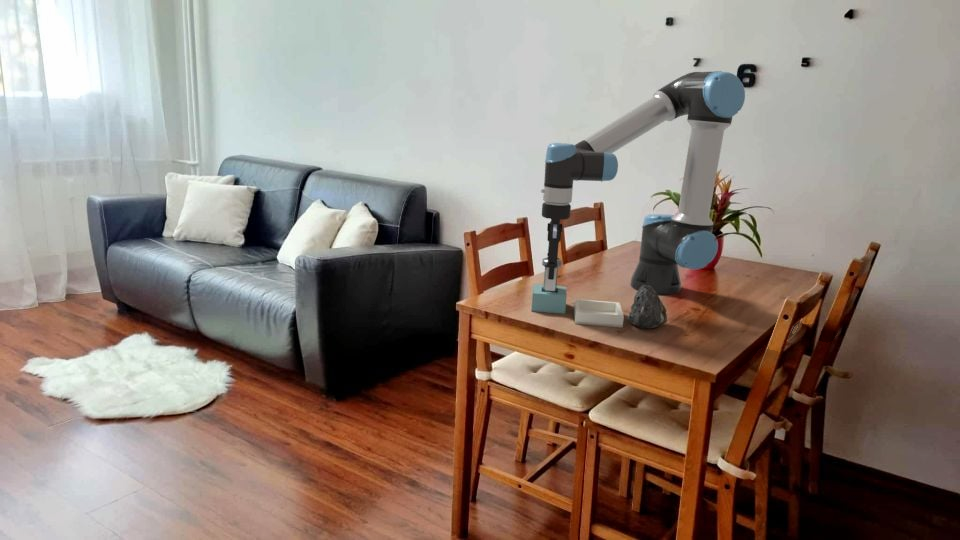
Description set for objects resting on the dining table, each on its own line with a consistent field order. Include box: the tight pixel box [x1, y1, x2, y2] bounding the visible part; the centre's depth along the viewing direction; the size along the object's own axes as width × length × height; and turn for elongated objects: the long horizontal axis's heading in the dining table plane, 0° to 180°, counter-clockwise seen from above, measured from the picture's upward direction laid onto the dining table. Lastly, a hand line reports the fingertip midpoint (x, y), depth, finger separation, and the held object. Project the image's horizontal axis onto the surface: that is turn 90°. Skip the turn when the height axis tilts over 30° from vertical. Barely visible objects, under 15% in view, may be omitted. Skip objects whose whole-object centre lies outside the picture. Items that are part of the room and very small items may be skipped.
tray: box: [573, 298, 624, 328], centre depth 178 cm, size 12×12×3 cm
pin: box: [541, 257, 563, 293], centre depth 183 cm, size 5×5×13 cm
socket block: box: [531, 283, 567, 315], centre depth 185 cm, size 9×9×5 cm
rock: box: [626, 285, 668, 329], centre depth 174 cm, size 12×10×10 cm
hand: (549, 287), depth 184 cm, fingers closed on pin, 5 cm apart
